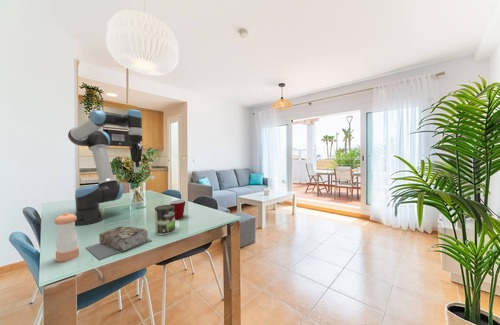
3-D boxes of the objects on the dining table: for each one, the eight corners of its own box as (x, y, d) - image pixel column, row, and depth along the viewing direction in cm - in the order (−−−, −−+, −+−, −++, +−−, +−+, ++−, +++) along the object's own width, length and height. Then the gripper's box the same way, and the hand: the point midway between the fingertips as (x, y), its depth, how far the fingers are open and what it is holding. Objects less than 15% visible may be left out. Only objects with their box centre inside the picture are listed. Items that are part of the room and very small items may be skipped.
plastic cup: (174, 215, 142) (173, 198, 141) (188, 215, 140) (188, 199, 140) (166, 220, 131) (165, 202, 130) (182, 220, 130) (181, 202, 129)
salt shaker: (83, 252, 89) (81, 210, 88) (69, 261, 81) (66, 215, 80) (66, 253, 88) (64, 210, 88) (50, 262, 81) (48, 216, 80)
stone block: (99, 246, 97) (123, 253, 88) (97, 232, 97) (121, 238, 88) (126, 234, 109) (150, 239, 100) (124, 222, 109) (148, 226, 99)
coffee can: (179, 230, 114) (178, 206, 113) (163, 236, 105) (162, 210, 105) (167, 226, 119) (167, 203, 119) (151, 232, 111) (150, 207, 110)
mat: (85, 248, 93) (85, 247, 93) (135, 232, 111) (135, 232, 111) (99, 260, 82) (99, 259, 82) (151, 241, 100) (151, 240, 100)
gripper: (124, 135, 126) (125, 172, 127) (133, 133, 118) (135, 173, 119) (136, 136, 132) (138, 171, 133) (146, 134, 124) (147, 172, 125)
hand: (136, 172), depth 126 cm, fingers closed
